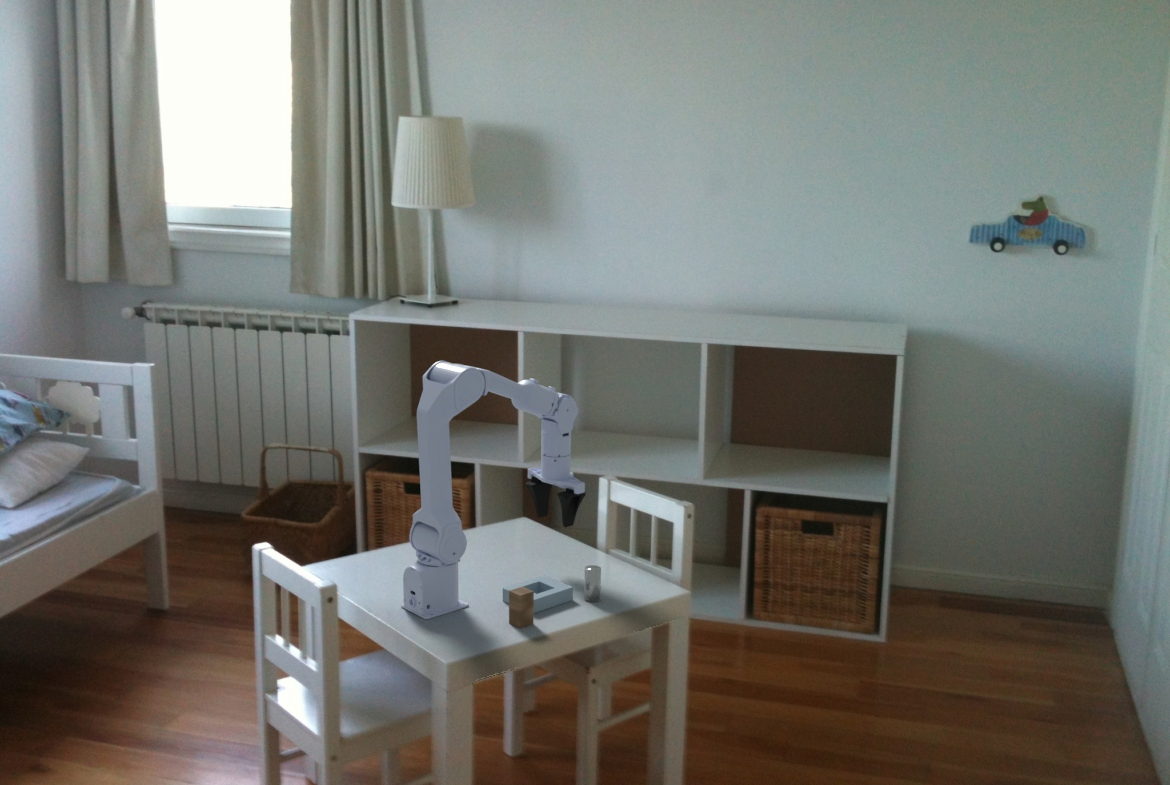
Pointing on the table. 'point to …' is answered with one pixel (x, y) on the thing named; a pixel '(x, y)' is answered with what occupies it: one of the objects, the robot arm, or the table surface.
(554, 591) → the socket block
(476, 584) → the table surface
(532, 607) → the square bit
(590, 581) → the cylinder
